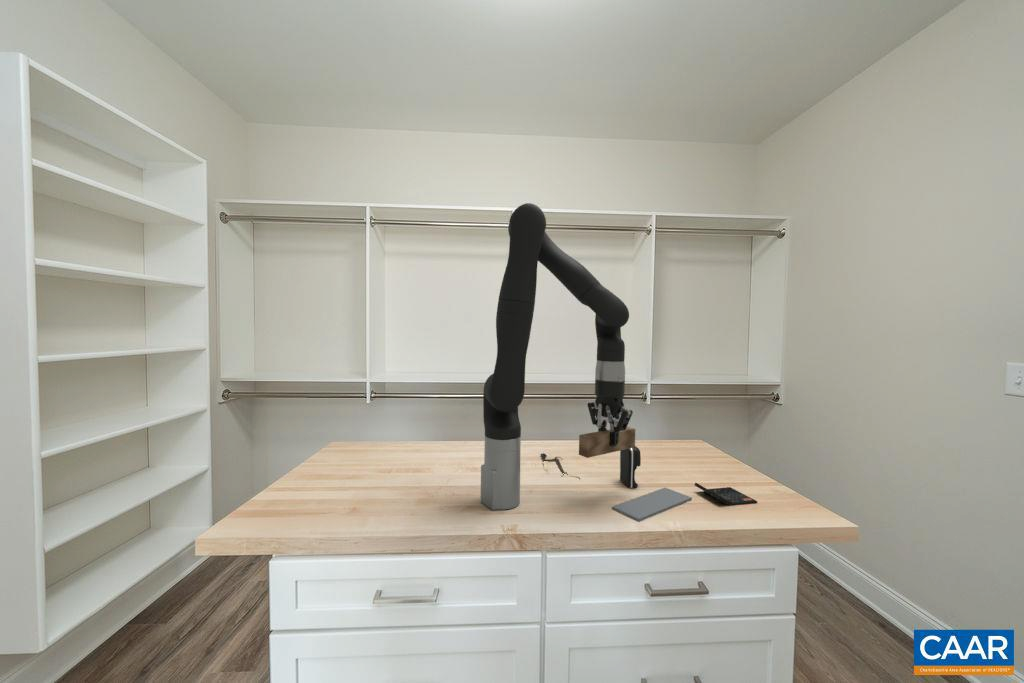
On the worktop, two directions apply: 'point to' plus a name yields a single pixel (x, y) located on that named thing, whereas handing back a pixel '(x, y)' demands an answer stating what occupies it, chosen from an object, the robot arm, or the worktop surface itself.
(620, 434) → the wooden block
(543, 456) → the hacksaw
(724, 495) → the calculator
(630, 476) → the black striped rounded block
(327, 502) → the worktop surface
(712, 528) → the worktop surface
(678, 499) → the mat
